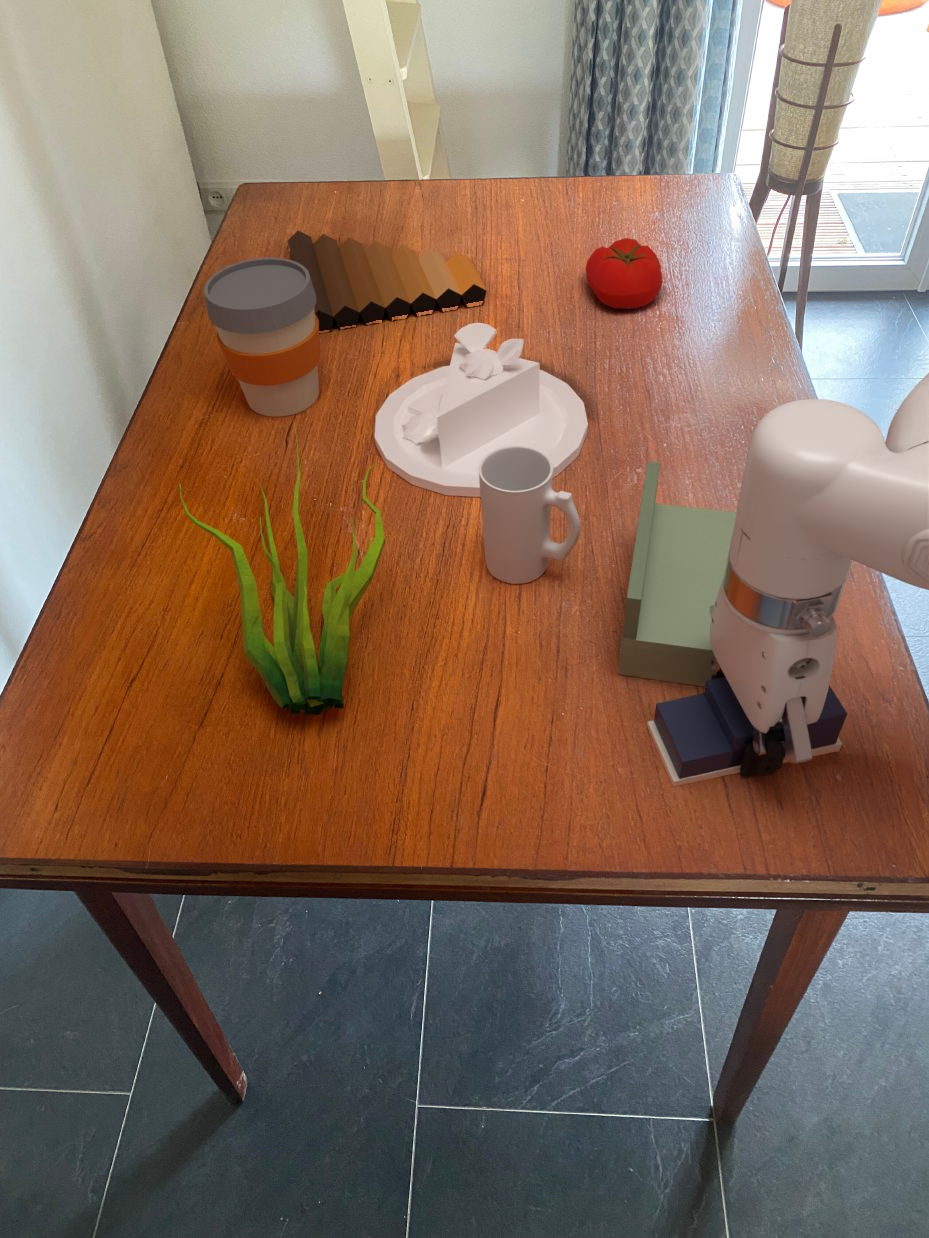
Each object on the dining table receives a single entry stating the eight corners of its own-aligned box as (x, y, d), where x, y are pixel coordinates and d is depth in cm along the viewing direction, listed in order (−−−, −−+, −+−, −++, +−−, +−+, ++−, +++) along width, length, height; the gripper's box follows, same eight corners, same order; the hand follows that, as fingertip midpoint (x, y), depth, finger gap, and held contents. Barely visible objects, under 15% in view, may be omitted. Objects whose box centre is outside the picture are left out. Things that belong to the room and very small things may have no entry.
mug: (470, 572, 91) (464, 477, 82) (504, 532, 94) (501, 437, 86) (560, 607, 87) (564, 512, 78) (591, 564, 91) (598, 469, 82)
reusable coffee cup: (278, 358, 120) (252, 248, 108) (353, 384, 115) (334, 271, 103) (212, 407, 113) (178, 294, 102) (289, 436, 108) (261, 321, 97)
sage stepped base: (759, 553, 90) (779, 474, 83) (756, 694, 79) (780, 616, 71) (638, 539, 93) (647, 461, 85) (617, 674, 81) (626, 597, 74)
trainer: (803, 697, 77) (817, 655, 73) (838, 754, 73) (854, 713, 69) (646, 732, 76) (651, 691, 72) (671, 792, 72) (678, 752, 68)
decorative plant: (421, 511, 98) (408, 394, 87) (344, 736, 78) (315, 621, 67) (263, 497, 100) (232, 382, 90) (151, 709, 81) (93, 595, 70)
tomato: (602, 322, 121) (605, 275, 117) (577, 283, 129) (578, 238, 124) (671, 310, 123) (676, 263, 118) (642, 273, 130) (646, 228, 125)
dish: (439, 354, 118) (432, 271, 110) (619, 398, 109) (626, 312, 101) (334, 460, 104) (317, 375, 96) (531, 521, 95) (531, 433, 87)
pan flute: (290, 253, 140) (309, 335, 123) (286, 232, 137) (305, 312, 121) (447, 228, 143) (487, 304, 126) (446, 207, 140) (486, 281, 124)
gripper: (904, 663, 55) (836, 817, 68) (778, 489, 67) (741, 649, 80) (787, 689, 54) (741, 839, 67) (681, 508, 66) (660, 666, 79)
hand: (742, 735), depth 73 cm, fingers closed on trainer, 6 cm apart
